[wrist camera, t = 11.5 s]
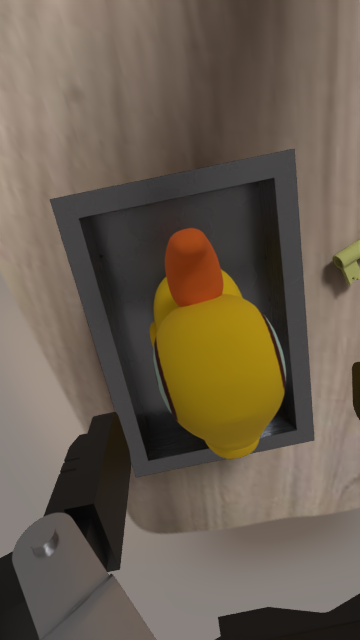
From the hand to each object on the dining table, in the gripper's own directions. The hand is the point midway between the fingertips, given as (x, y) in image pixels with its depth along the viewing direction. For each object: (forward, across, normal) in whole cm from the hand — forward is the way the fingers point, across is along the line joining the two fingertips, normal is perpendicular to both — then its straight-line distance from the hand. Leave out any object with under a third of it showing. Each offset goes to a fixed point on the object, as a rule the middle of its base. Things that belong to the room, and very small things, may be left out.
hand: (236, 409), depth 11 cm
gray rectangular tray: (+15, 0, 0) cm, 15 cm away
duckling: (+9, 0, 0) cm, 9 cm away
